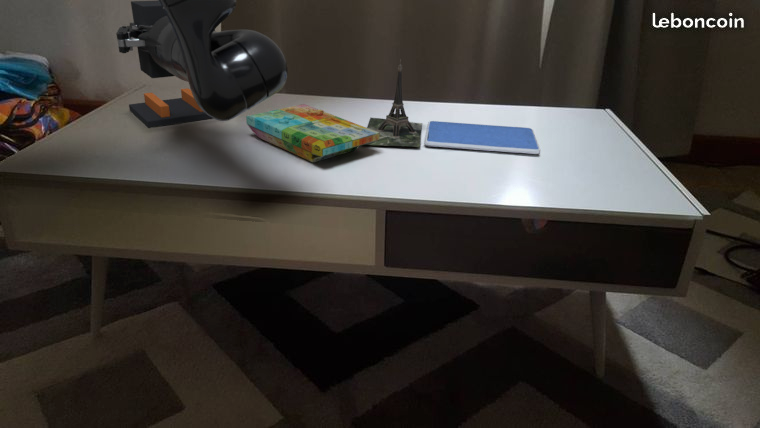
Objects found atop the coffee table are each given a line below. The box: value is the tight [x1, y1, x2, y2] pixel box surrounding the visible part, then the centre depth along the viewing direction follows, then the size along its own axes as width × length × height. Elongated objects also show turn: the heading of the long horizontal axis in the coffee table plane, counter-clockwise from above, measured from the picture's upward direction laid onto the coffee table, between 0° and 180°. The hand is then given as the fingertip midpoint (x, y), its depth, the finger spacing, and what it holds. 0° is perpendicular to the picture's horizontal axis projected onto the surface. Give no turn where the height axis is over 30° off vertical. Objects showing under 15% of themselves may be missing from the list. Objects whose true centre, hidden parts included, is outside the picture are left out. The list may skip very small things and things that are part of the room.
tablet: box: [423, 120, 541, 155], centre depth 100 cm, size 19×13×1 cm, turn 83°
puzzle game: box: [245, 103, 380, 163], centre depth 94 cm, size 12×5×20 cm
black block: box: [130, 0, 175, 79], centre depth 84 cm, size 4×6×10 cm, turn 36°
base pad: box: [128, 87, 213, 129], centre depth 107 cm, size 14×12×3 cm
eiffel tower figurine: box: [362, 58, 423, 148], centre depth 99 cm, size 15×10×13 cm
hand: (148, 29), depth 86 cm, fingers closed on black block, 4 cm apart
